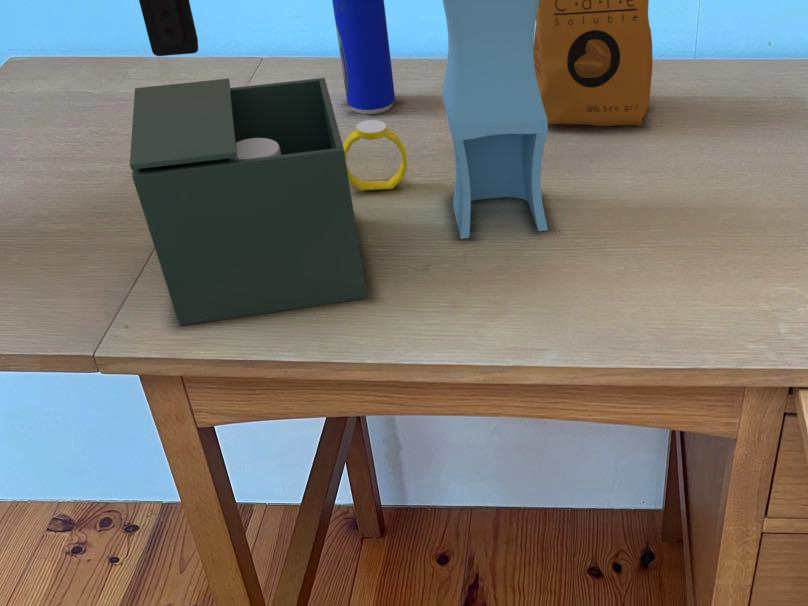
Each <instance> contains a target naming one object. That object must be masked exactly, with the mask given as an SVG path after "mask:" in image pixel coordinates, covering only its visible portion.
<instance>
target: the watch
mask: <svg viewBox="0 0 808 606" xmlns="http://www.w3.org/2000/svg"><path fill="white" fill-rule="evenodd" d="M383 138H386V139H388V140H390V141H392V142H393V143H394V144H395V145H396V147H397V148H398V150H399V151H400V155H401V162H400V165H399V168H398V170H397V173H395V174H394V175H392V177H390V179H388V180H365V181H364V180H363V181H362V180H361V179H359V178H358V177H356V176H355V175H354V174H352V172H351V170H350V168H349V166H348V164H347V163H346V166H347V172H348V179H349V184H351V185H352V186H354V187H355V188H356V189H358V190H359V191H361V192H364V191H374V190H375V191H376V190H393V189H394V188H395V187H396V186H398V185H399V184H400V183H401V182H402V180H403V179H404V177H405V174H406V172H407V169H408V160H407V159H408V158H407V152H406V148H405V145H404V143H403V142H402V141H401V139H400V138H399V136H398V134H396V133H395V132H394V131H392V130H390V129H389V128H388V125H387V124H386V122H383V121H381V120H376V119H367V120H363V121H360V122H358V123H357V124H356V126H355V130H354V131H352V132H351V133H349V135H347V137H346V139H345V141H344V142H343V143H342V145H343V148H344V153H345V160H346V161H347V154H348V153H349V151H350V149H351V147H352V146H353V144H354V143H355V142H357V141H358V140H360V139H363V140H368V141H369V140H370V141H371V140H372V141H373V140H379V139H383Z"/></svg>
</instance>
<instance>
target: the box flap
mask: <svg viewBox="0 0 808 606" xmlns="http://www.w3.org/2000/svg"><path fill="white" fill-rule="evenodd" d="M230 88H231V82H230V79H229V78H221V79H212V80H211V79H210V80H200V81H191V82H182V83H181V82H179V83H173V84H172V83H171V84H163V85H154V86H152V85H151V86H143V87H135V88H134V94H133V95H134V96H133V108H132V109H133V111H132V124H131V125H132V126H131V142H130V155H129V156H130V157H129V168H130V170H131V171H132V170H133V169H142V168H151V167H159V166H168V165H176V164H185V163H193V162H202V161H211V160H219V159H228V158H236V157H237V149H236V139H235V129H234V119H233V109H232V99H231V89H230Z"/></svg>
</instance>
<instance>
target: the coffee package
mask: <svg viewBox="0 0 808 606" xmlns="http://www.w3.org/2000/svg"><path fill="white" fill-rule="evenodd" d="M649 2H650V0H539V3H538V9H537V15H536V21H535V30H534V47H533V55H534V66H535V73H536V79H537V84H538V88H539V92H540V96H541V100H542V103H543V106H544V110H545V113H546V116H547V125H584V126H585V125H587V126H594V127H595V126H596V127H612V126H634V127H635V126H636V127H640V126H641V125H642V123H643V118H644V117H645V116H646V113H647V111H648V109H649V106H650V97H651V87H652V76H653V38H652V29H651V26H650V19H649Z"/></svg>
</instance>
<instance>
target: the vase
mask: <svg viewBox="0 0 808 606" xmlns="http://www.w3.org/2000/svg"><path fill="white" fill-rule="evenodd" d="M538 3H539V0H442V5H443V9H444V14H445V20H446V28H447V45H448V47H447V48H448V50H447V59H446V60H447V62H446V68H445V73H444V80H443V84H442V89H441V91H442V102H443V107H444V110H445V113H446V117H447V121H448V125H449V126H448V127H449V130H450V134H451V135H450V136H451V140H452V145H453V153H454V154H453V155H454V160H455V161H454V165H455V168H454V169H455V171H454V172H455V175H454V176H455V177H454V191H453V200H452V207H453V213H454V216H455V217H454V218H455V221H456V225H457V229H458V234H459V238H460V240H462V239H470V237H471V236H470V234H471V215H472V214H471V213H472V211H471V210H472V209H471V208H472V205H471V204H472V203H471V202H474V201H479V200H487V199H499V198H515V199H520V200H524V201H526V202H527V203H528V205H529V209H530V211H531V214H532V217H533V220H534V223H535V226H536V229H537V232H546V231H549V228H548V224H547V218H546V214H545V209H544V204H543V195H542V183H541V180H542V179H541V177H542V163H543V157H544V150H545V145H546V141H547V136H548V129H549V127H548V124H547V116H546V113H545V110H544V106H543V103H542V100H541V96H540V92H539V88H538V84H537V79H536V73H535V66H534V55H533V47H534V36H535V29H536V15H537V9H538Z"/></svg>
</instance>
